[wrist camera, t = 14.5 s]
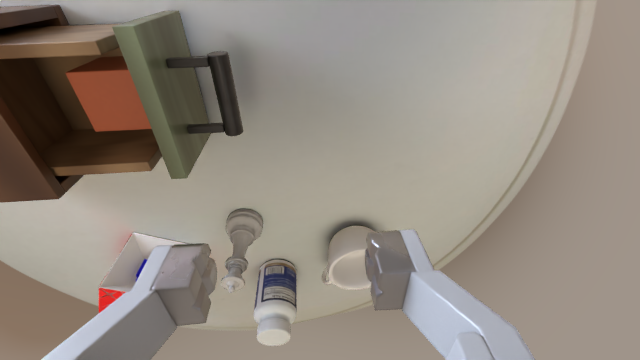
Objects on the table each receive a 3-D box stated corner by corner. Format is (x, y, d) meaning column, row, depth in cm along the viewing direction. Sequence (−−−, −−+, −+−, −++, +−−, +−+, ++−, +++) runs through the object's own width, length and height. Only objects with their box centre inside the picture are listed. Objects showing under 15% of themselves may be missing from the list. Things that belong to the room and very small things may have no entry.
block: (100, 56, 23) (63, 72, 20) (156, 54, 23) (131, 69, 20) (123, 109, 26) (95, 132, 22) (173, 107, 26) (154, 129, 22)
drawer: (233, 8, 23) (209, 22, 16) (254, 130, 29) (242, 175, 23) (11, 16, 22) (-104, 34, 16) (80, 139, 28) (17, 188, 22)
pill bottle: (282, 285, 45) (278, 353, 37) (252, 272, 43) (241, 341, 35) (304, 267, 43) (305, 334, 35) (273, 252, 41) (268, 321, 33)
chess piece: (269, 226, 38) (262, 297, 30) (240, 238, 39) (225, 309, 30) (251, 203, 35) (237, 272, 27) (220, 215, 36) (198, 286, 28)
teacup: (356, 207, 37) (365, 239, 32) (392, 236, 40) (404, 268, 36) (301, 248, 40) (302, 281, 36) (339, 271, 44) (343, 304, 39)
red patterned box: (130, 270, 41) (98, 326, 34) (133, 232, 37) (98, 287, 30) (189, 281, 43) (171, 335, 37) (199, 246, 39) (179, 300, 32)
